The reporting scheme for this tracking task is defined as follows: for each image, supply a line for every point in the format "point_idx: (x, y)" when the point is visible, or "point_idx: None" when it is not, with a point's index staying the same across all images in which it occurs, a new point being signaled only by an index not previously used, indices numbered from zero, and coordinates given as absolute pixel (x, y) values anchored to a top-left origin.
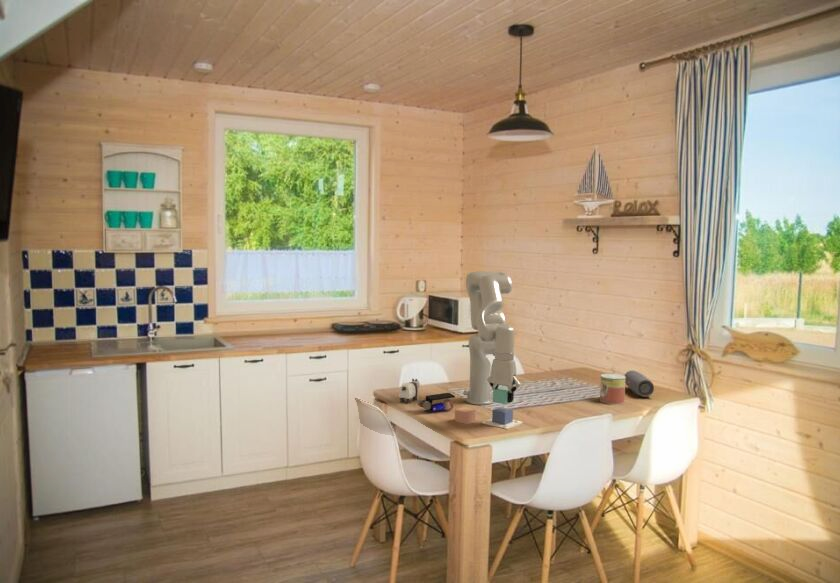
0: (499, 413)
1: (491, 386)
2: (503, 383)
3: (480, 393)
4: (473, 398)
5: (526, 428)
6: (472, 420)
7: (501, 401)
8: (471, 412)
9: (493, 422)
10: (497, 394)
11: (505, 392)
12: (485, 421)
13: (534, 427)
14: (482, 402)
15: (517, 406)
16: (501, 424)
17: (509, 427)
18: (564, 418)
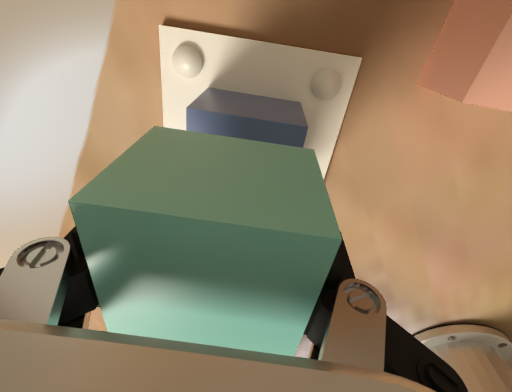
0: (242, 112)
1: (410, 338)
2: (9, 382)
3: (466, 382)
4: (485, 353)
5: (95, 116)
6: (438, 48)
7: (200, 141)
8: (488, 33)
9: (290, 98)
10: (252, 188)
11: (79, 196)
12: (344, 89)
13: (82, 156)
14: (434, 338)
15: (297, 353)
16: (229, 84)
17: (161, 58)
18: (96, 309)
